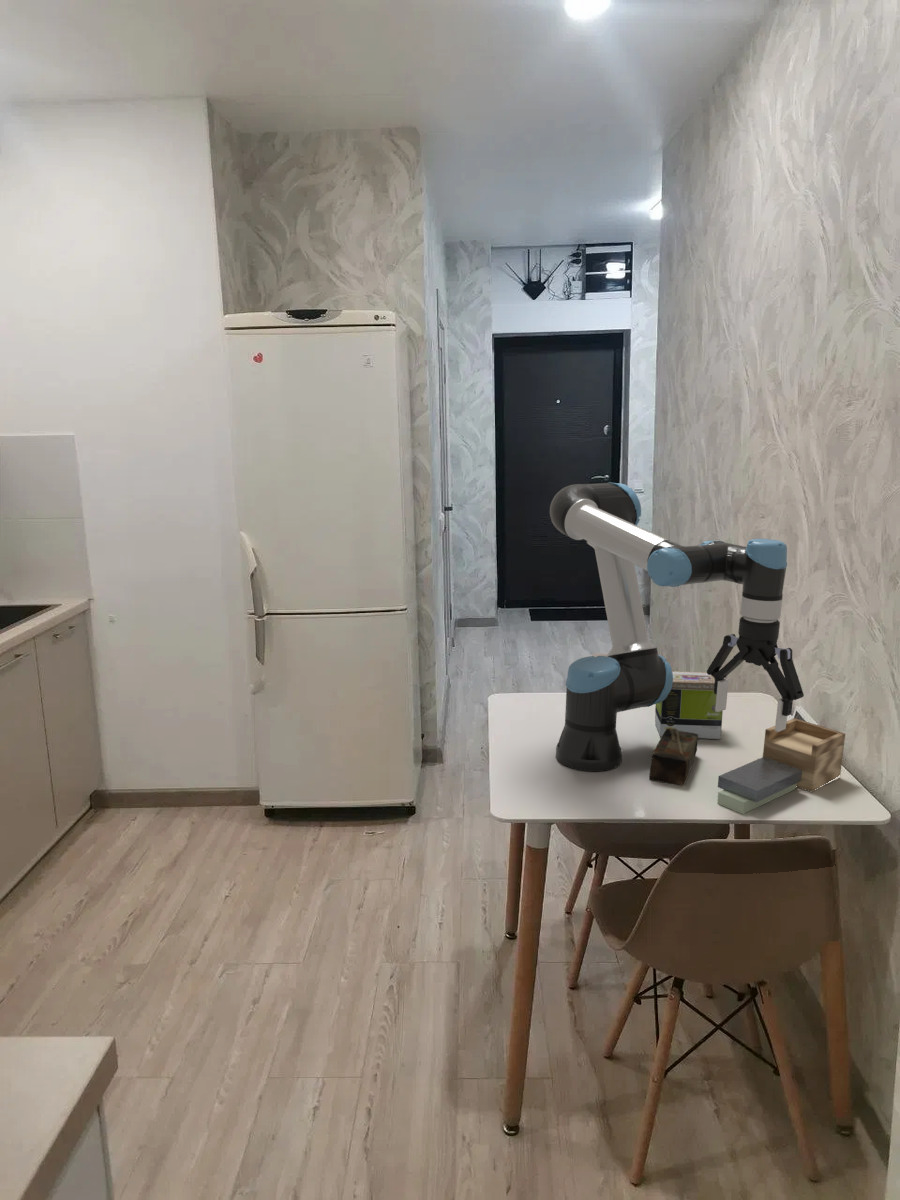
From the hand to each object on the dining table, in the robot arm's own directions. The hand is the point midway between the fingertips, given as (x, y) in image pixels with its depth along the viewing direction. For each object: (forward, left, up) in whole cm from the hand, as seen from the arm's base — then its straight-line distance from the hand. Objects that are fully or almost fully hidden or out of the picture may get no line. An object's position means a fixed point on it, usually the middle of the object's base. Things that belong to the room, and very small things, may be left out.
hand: (749, 720), depth 174 cm
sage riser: (+6, 0, -18) cm, 19 cm away
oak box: (+23, 0, -18) cm, 29 cm away
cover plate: (+6, 0, -16) cm, 17 cm away
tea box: (+25, +32, -18) cm, 44 cm away
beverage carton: (+3, +20, -19) cm, 27 cm away
